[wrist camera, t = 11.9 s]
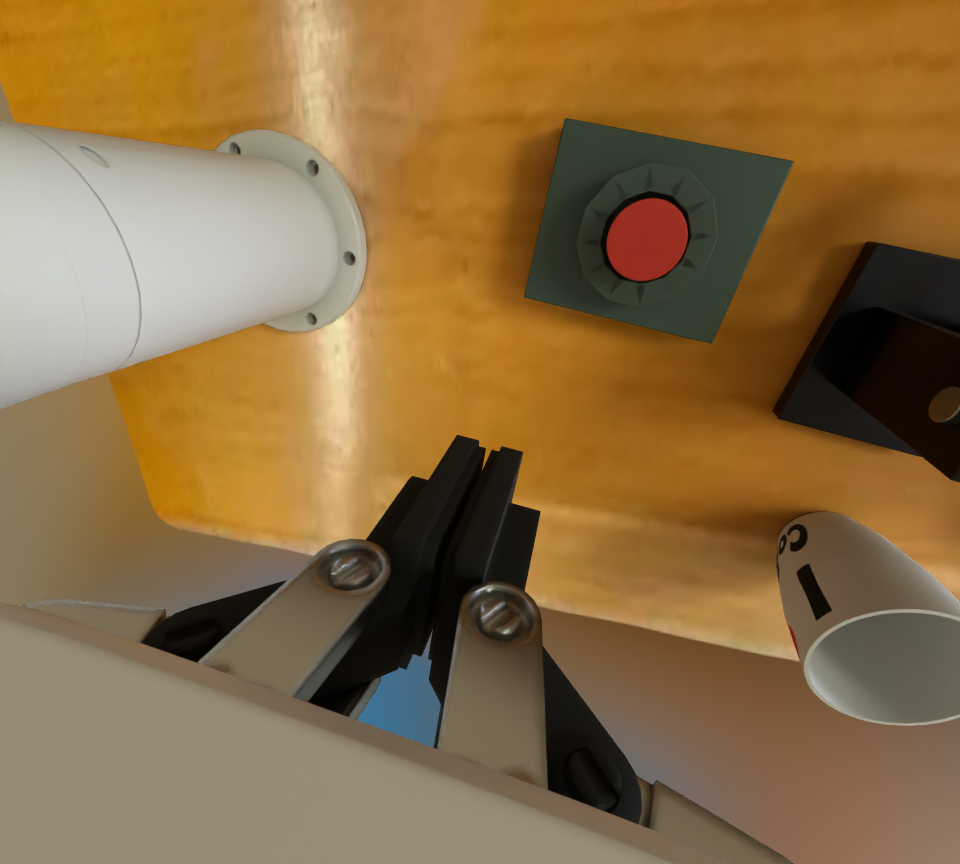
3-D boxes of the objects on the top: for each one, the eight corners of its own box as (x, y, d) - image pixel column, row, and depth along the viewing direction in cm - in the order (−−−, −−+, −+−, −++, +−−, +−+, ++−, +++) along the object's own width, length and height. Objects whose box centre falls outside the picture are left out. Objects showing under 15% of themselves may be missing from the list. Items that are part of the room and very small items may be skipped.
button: (597, 267, 24) (596, 271, 22) (620, 191, 22) (620, 190, 21) (666, 283, 23) (670, 288, 22) (694, 207, 22) (701, 207, 20)
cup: (764, 488, 30) (823, 598, 22) (910, 496, 28) (1042, 623, 20) (744, 580, 34) (789, 708, 25) (875, 594, 32) (973, 739, 23)
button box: (529, 291, 29) (517, 302, 25) (568, 124, 25) (561, 110, 21) (705, 334, 27) (718, 353, 24) (779, 164, 23) (808, 157, 20)
